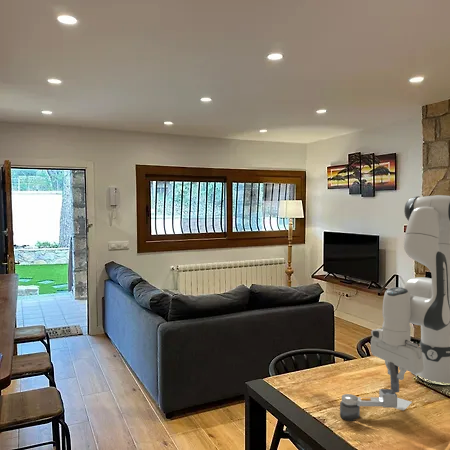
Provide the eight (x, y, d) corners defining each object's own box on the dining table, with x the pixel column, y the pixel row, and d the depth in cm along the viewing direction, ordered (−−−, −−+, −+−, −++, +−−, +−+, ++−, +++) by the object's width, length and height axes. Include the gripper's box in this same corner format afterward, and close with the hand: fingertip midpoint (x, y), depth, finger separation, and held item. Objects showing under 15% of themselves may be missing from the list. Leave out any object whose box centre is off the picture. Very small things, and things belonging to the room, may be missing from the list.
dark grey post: (395, 388, 141) (394, 359, 141) (400, 391, 139) (399, 362, 138) (389, 389, 141) (388, 361, 140) (394, 393, 138) (393, 363, 138)
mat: (388, 396, 146) (388, 395, 146) (412, 403, 141) (412, 401, 141) (379, 404, 140) (379, 403, 140) (403, 412, 135) (403, 410, 135)
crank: (343, 407, 130) (343, 394, 130) (340, 399, 135) (340, 387, 135) (397, 408, 129) (397, 395, 129) (392, 400, 134) (392, 388, 134)
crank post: (345, 410, 137) (345, 398, 137) (362, 416, 133) (362, 403, 133) (336, 416, 132) (336, 404, 132) (354, 423, 128) (354, 410, 128)
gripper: (428, 344, 131) (428, 387, 131) (381, 327, 150) (381, 365, 150) (413, 347, 129) (413, 390, 129) (367, 329, 147) (367, 367, 148)
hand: (395, 376), depth 140 cm, fingers closed on dark grey post, 3 cm apart
